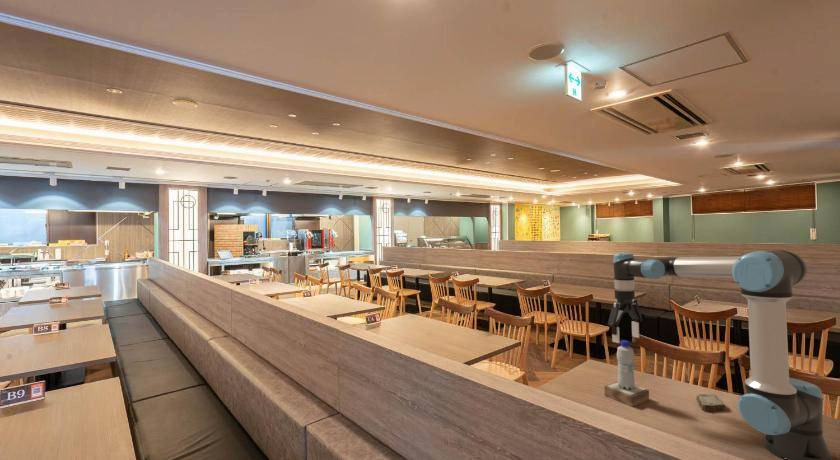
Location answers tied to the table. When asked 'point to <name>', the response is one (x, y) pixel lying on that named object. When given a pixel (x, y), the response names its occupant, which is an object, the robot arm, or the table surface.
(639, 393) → the picture frame
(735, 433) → the table surface
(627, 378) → the bottle
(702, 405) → the stone
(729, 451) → the table surface
